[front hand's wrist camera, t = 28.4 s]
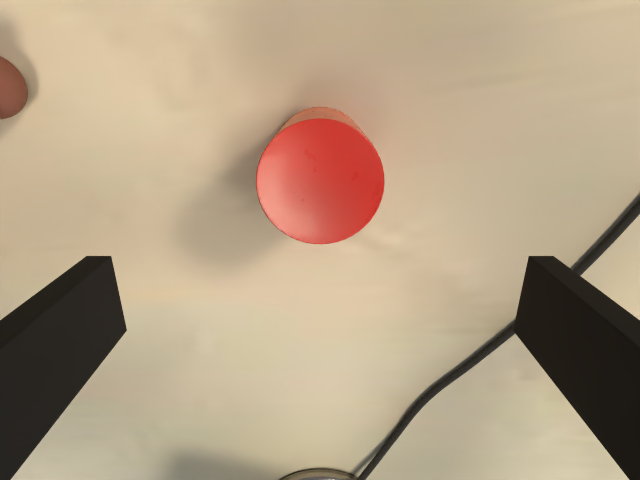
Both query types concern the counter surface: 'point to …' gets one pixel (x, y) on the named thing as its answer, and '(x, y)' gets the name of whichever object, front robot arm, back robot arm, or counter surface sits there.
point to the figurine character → (11, 89)
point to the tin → (320, 177)
